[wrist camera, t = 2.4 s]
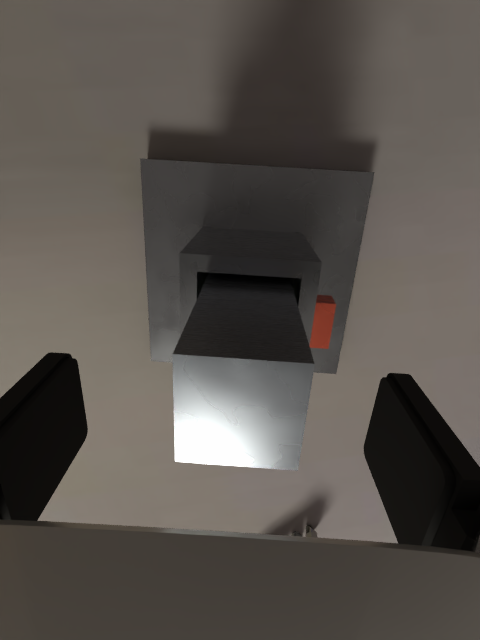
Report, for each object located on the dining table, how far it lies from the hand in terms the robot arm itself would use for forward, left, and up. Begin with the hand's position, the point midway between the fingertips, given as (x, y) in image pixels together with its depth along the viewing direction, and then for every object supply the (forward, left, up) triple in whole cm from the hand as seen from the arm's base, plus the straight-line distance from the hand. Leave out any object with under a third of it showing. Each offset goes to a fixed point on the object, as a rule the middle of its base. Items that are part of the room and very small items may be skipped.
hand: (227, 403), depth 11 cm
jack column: (0, 0, -14) cm, 14 cm away
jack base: (0, 0, -16) cm, 16 cm away
